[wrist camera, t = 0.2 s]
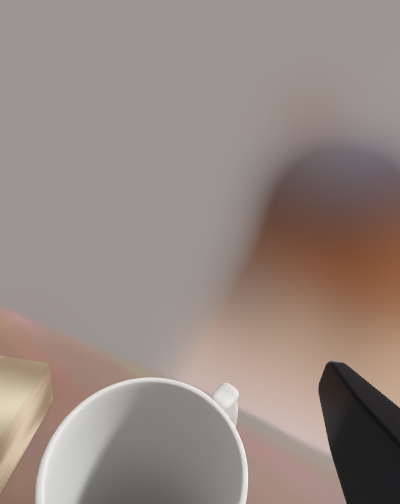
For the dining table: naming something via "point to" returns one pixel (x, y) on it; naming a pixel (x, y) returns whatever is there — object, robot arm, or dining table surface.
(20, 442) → the pocket collar
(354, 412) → the robot arm
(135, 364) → the dining table surface
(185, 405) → the mug
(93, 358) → the dining table surface
